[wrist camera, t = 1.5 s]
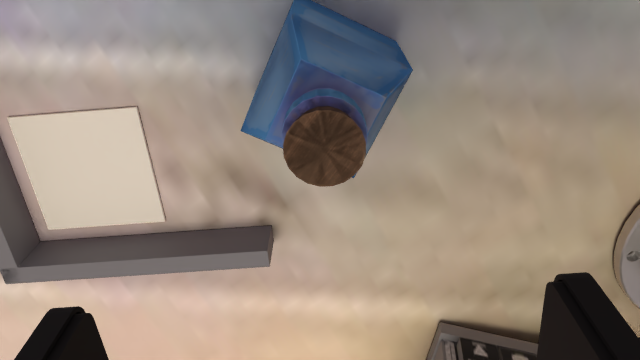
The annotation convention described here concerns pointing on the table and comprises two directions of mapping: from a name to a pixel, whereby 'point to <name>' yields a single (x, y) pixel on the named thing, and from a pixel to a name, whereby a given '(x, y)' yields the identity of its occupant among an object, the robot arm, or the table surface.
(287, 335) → the table surface
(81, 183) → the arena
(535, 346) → the cassette tape recorder
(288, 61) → the perfume bottle
